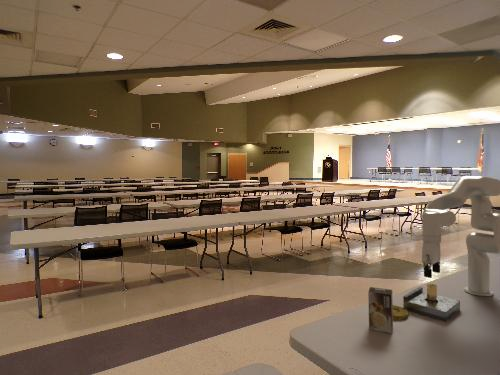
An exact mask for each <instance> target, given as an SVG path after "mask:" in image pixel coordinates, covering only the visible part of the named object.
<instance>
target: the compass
mask: <svg viewBox="0 0 500 375" xmlns="http://www.w3.org/2000/svg"><path fill="white" fill-rule="evenodd" d="M408 317H409V311H407V310H406V309H404V308H403V307H402V306H399V305H394V304H393V321H403V320H405V319H406V318H408Z"/></svg>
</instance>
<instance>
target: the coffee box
mask: <svg viewBox="0 0 500 375" xmlns="http://www.w3.org/2000/svg"><path fill="white" fill-rule="evenodd" d="M367 293H368V297H367V298H368V330H372V331H377V332H382V333H388V334H393V331H394V320H393V305H394V303H393V290H392V289H387V288H380V287H373V286H370V287H369V289H368V292H367Z"/></svg>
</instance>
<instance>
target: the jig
mask: <svg viewBox="0 0 500 375" xmlns="http://www.w3.org/2000/svg"><path fill="white" fill-rule="evenodd" d="M423 289H424V288H423V287H422V286H418V287H417V288H415V289H413V290H411V291H409V292H408V293H406V294H405V295H403V303H402V304H403V305H402V306H403V307H402V308H404V309H406V310H407V311H408V313H409V312H410V313H413V314H417V315H420V316H423V317H426V318H430V319H434V320H437V321H439V322H444V323H447V322H448V321H450V319H451V318H452V317H454V316H455V315H456V314H458V313H459V311H461V300H459V299H455V298H450V297H446V296H443V295H438V294H437V303H431V302H427V291H424V290H423Z"/></svg>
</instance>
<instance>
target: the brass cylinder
mask: <svg viewBox="0 0 500 375" xmlns="http://www.w3.org/2000/svg"><path fill="white" fill-rule="evenodd" d="M437 287H438V285H437V284H436V283H432V282H431V283H430V282H429V283H428V282H427V283H426V292H427V302H431V303H437V295H438V293H437V290H438V288H437Z"/></svg>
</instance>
